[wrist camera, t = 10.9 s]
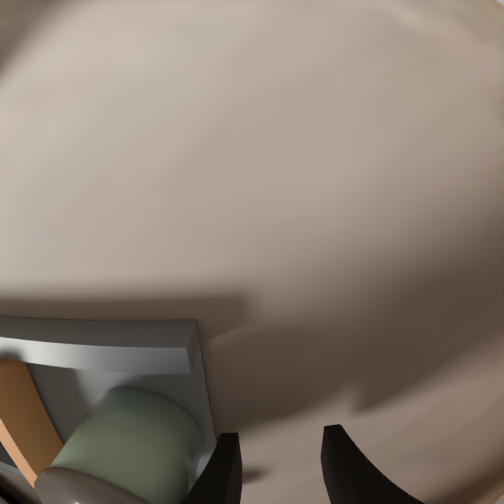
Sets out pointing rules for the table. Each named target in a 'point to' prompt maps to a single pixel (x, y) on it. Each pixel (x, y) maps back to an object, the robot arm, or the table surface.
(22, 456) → the pusher
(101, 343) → the lane
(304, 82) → the table surface
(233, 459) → the robot arm
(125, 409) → the jar
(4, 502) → the supplement tub
